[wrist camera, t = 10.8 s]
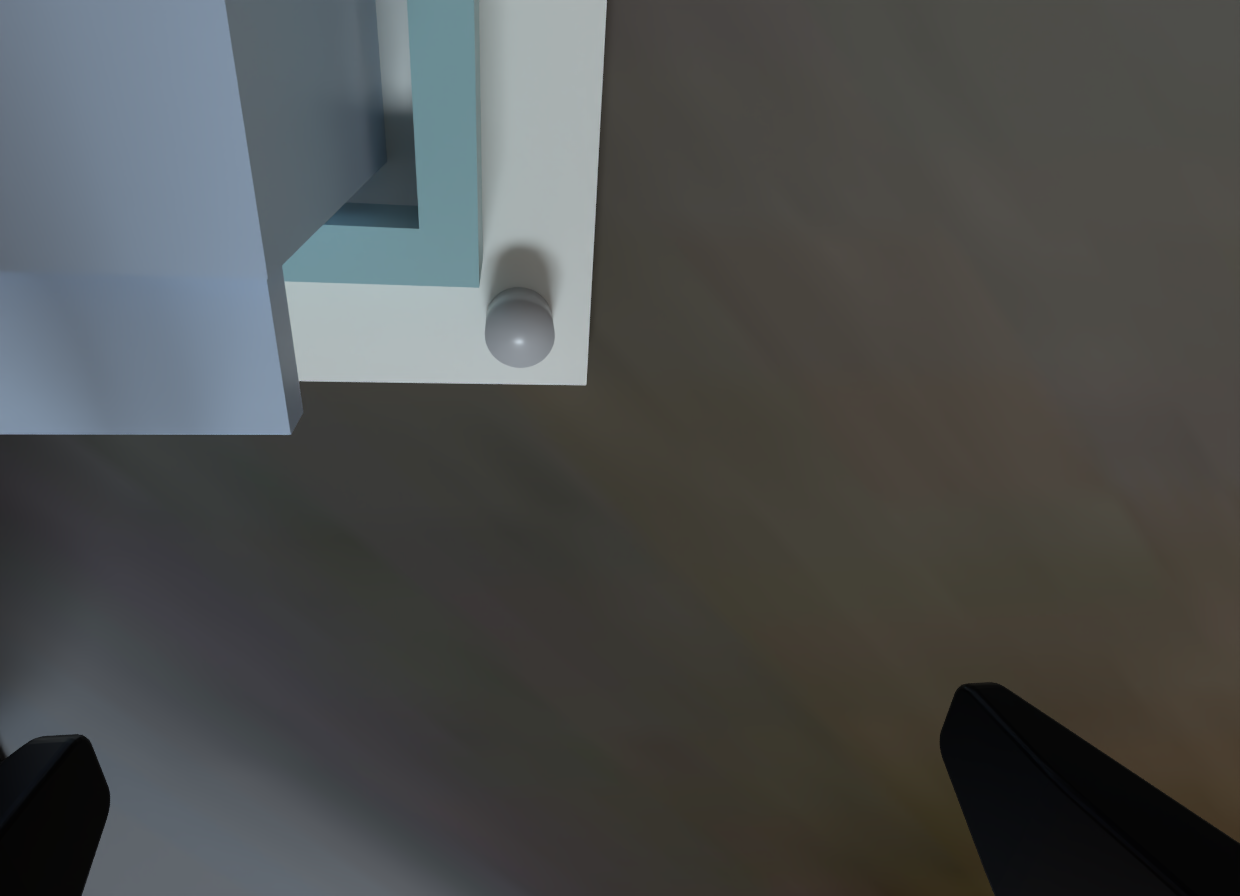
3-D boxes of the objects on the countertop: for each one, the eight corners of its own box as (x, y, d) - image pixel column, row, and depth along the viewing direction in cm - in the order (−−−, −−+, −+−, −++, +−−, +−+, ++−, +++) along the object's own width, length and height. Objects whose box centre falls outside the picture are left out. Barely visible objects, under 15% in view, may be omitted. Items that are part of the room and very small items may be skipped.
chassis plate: (582, 368, 18) (594, 424, 15) (23, 358, 16) (-72, 420, 13) (626, -503, 11) (660, -666, 9) (-310, -676, 10) (-620, -947, 7)
